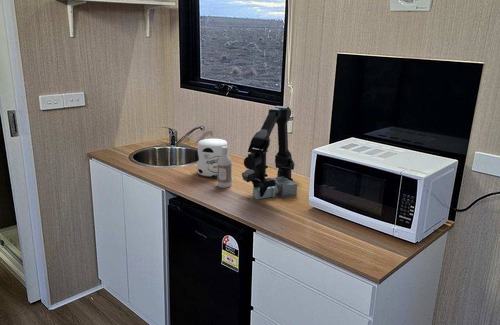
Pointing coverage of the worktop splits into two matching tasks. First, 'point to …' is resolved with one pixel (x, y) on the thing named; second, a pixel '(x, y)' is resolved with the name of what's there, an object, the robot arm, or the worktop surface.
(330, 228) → the worktop surface
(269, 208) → the worktop surface
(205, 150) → the milk container
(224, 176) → the bath foam
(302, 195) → the worktop surface
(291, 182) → the block
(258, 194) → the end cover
